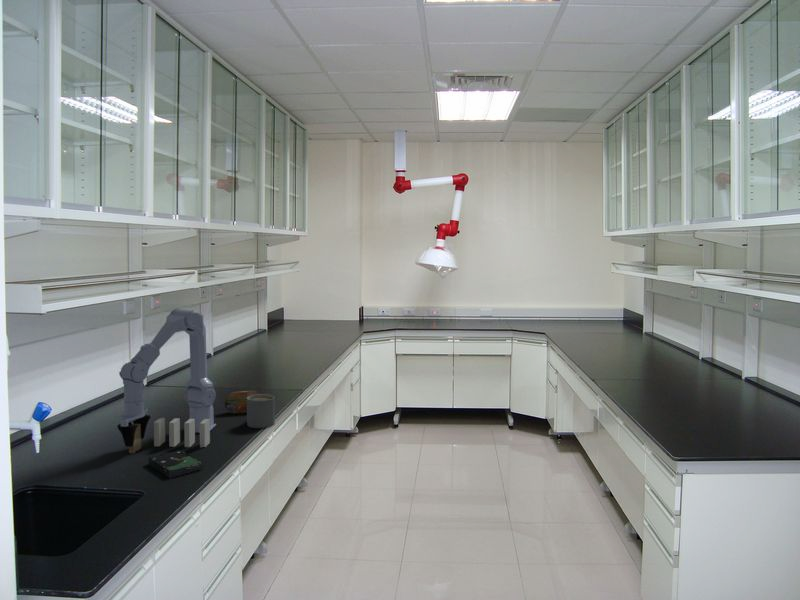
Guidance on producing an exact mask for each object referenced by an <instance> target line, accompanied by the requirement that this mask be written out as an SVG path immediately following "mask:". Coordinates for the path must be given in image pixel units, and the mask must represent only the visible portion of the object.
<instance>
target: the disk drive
mask: <svg viewBox="0 0 800 600" xmlns="http://www.w3.org/2000/svg"><path fill="white" fill-rule="evenodd" d="M148 465H149V466H150V467H152V468H153V469H154V470H156V471H158V472H159V473H161V474H162V475H164V476H165V477H167V478H168V479H172V478H176V476H177V477H179V476H180V477H181V476H183V474H184V475H187V474H186V473H188V474H191V473H190V472H192V473H194V472H193V471H196V470H199V469H204V464H202V461H201V460H199V459H197V458H196V457H194V456H192V455H191V454H188V453H187V452H185V451H183V450H179V449H178V450H175V451H171V452H166V453H163V454H161V455H159V456H157V455H154V456H153V455H152V456H149V457H148ZM196 472H197V471H196Z"/></svg>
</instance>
